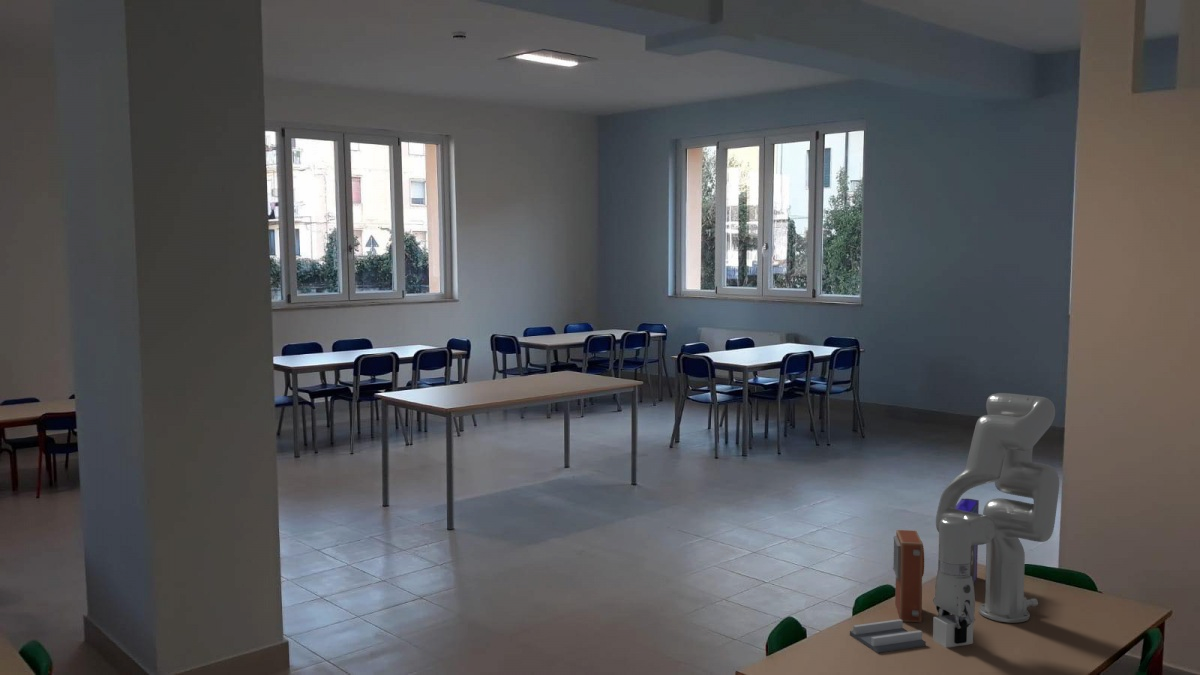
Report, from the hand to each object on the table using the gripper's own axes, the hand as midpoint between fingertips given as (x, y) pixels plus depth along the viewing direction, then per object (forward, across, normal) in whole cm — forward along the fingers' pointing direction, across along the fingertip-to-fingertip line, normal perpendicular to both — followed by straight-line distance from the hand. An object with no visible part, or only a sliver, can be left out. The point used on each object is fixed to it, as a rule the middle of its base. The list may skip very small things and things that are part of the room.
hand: (952, 637), depth 234 cm
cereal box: (+1, +35, -31) cm, 47 cm away
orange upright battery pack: (+1, +20, -1) cm, 20 cm away
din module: (+1, 0, 0) cm, 1 cm away
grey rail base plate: (+1, +6, +15) cm, 16 cm away
